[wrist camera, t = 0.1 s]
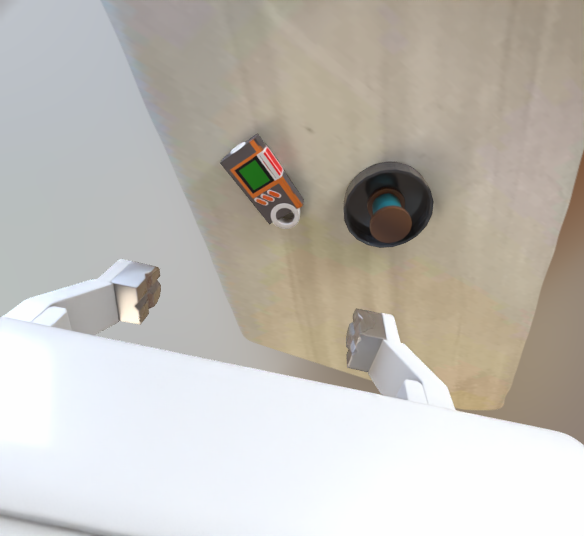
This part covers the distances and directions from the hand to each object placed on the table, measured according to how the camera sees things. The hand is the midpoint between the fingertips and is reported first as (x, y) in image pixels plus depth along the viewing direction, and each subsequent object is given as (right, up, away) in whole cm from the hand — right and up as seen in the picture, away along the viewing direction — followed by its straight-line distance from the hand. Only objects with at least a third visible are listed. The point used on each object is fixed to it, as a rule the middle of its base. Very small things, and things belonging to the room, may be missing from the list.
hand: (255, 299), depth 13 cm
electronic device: (-2, +15, +39) cm, 41 cm away
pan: (+16, +12, +38) cm, 43 cm away
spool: (+16, +11, +37) cm, 42 cm away
